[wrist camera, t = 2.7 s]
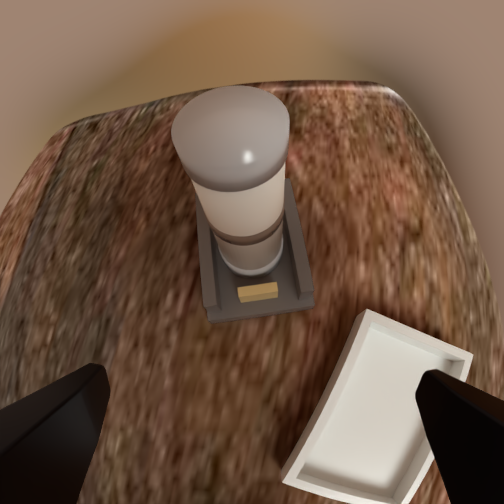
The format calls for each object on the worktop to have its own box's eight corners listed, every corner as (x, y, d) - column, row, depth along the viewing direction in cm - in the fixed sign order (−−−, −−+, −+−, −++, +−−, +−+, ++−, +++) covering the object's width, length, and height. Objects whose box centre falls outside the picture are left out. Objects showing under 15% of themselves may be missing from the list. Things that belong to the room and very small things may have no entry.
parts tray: (390, 501, 15) (401, 513, 12) (280, 470, 17) (281, 482, 14) (455, 357, 18) (473, 354, 16) (356, 315, 20) (366, 308, 18)
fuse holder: (312, 308, 21) (319, 297, 18) (211, 323, 21) (201, 315, 18) (289, 196, 24) (291, 172, 21) (201, 209, 24) (192, 187, 21)
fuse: (266, 288, 20) (257, 183, 9) (211, 263, 21) (148, 147, 10) (292, 235, 21) (306, 101, 10) (238, 213, 22) (209, 78, 11)
